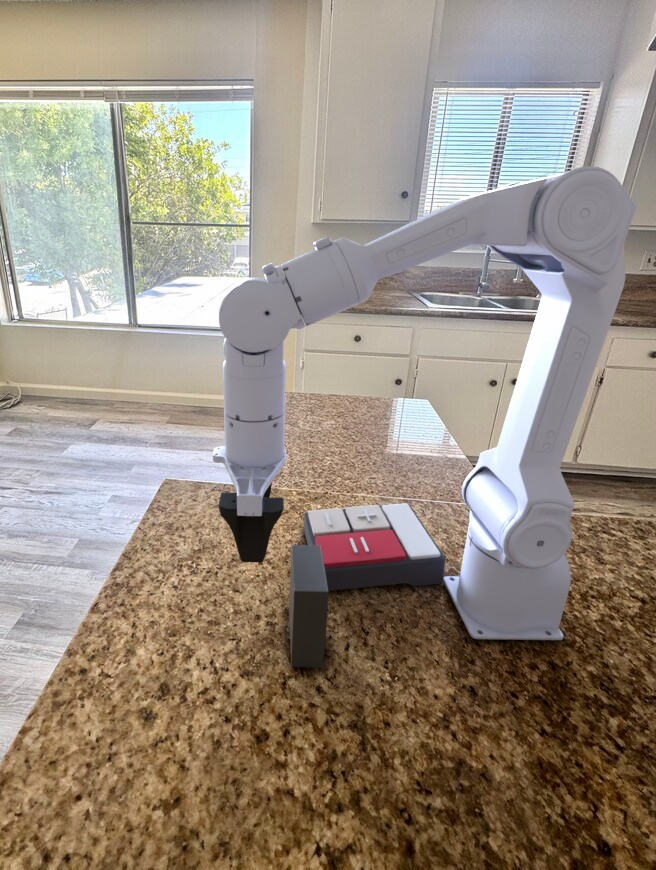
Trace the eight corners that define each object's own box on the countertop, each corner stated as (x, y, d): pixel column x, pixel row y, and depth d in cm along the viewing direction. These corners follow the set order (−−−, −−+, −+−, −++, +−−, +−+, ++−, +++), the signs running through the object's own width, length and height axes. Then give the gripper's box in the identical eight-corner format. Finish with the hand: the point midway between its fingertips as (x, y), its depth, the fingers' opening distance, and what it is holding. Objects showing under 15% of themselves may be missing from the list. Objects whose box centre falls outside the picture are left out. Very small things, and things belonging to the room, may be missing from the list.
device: (317, 613, 45) (322, 544, 43) (324, 668, 40) (329, 591, 37) (288, 613, 45) (291, 544, 43) (291, 667, 40) (294, 591, 37)
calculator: (303, 507, 57) (409, 497, 59) (303, 533, 59) (407, 523, 60) (319, 566, 47) (447, 553, 48) (319, 596, 48) (444, 583, 49)
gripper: (222, 383, 46) (225, 491, 50) (197, 445, 32) (203, 587, 36) (286, 384, 46) (284, 492, 50) (288, 447, 32) (285, 589, 36)
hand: (254, 532), depth 43 cm, fingers open, 7 cm apart
